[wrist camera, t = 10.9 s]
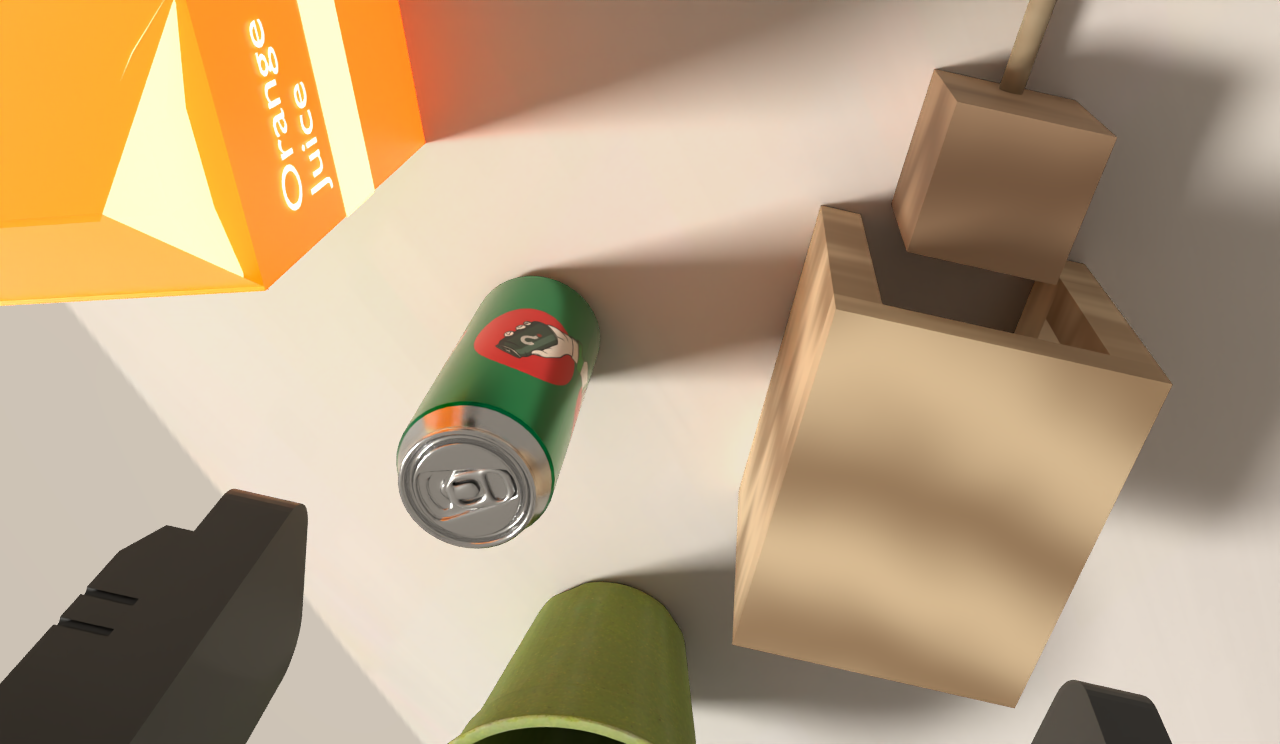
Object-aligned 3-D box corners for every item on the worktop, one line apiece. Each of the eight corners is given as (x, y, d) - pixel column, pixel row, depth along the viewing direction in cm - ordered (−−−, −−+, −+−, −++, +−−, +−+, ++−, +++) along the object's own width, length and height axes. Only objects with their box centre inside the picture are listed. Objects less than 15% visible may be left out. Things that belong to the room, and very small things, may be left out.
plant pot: (716, 525, 47) (703, 714, 37) (746, 728, 52) (741, 943, 42) (457, 542, 49) (377, 726, 39) (510, 736, 54) (451, 944, 44)
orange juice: (428, 146, 40) (163, 395, 23) (208, 163, 42) (-206, 411, 24) (385, -78, 37) (34, 10, 19) (148, -53, 38) (-389, 51, 20)
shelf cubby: (967, 542, 46) (1014, 708, 37) (738, 491, 46) (732, 644, 37) (1084, 264, 40) (1172, 384, 31) (821, 205, 40) (835, 309, 31)
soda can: (461, 284, 43) (360, 435, 32) (581, 258, 42) (518, 405, 31) (501, 394, 45) (418, 570, 34) (616, 371, 44) (568, 546, 33)
